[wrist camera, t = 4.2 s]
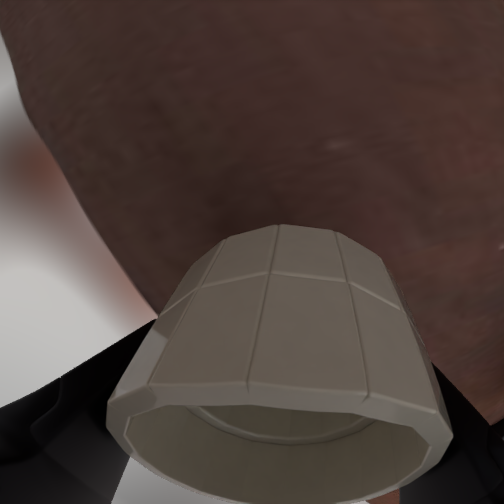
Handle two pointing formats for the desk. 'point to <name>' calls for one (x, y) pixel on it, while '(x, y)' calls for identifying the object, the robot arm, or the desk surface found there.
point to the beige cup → (283, 376)
